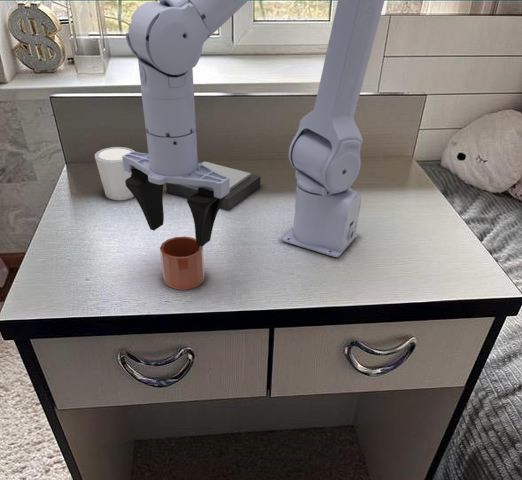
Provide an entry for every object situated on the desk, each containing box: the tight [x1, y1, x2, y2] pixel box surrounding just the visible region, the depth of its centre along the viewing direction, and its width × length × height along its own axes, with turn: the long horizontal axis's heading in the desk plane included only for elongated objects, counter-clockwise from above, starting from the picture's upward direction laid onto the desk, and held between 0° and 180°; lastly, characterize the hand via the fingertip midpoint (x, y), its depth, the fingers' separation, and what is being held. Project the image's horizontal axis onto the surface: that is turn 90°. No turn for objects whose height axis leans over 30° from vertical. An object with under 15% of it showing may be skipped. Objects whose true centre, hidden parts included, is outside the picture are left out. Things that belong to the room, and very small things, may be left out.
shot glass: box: [94, 146, 136, 201], centre depth 90 cm, size 7×7×7 cm
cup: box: [159, 235, 205, 291], centre depth 71 cm, size 6×6×5 cm
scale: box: [165, 160, 261, 211], centre depth 94 cm, size 13×11×3 cm
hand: (179, 234), depth 69 cm, fingers open, 7 cm apart
